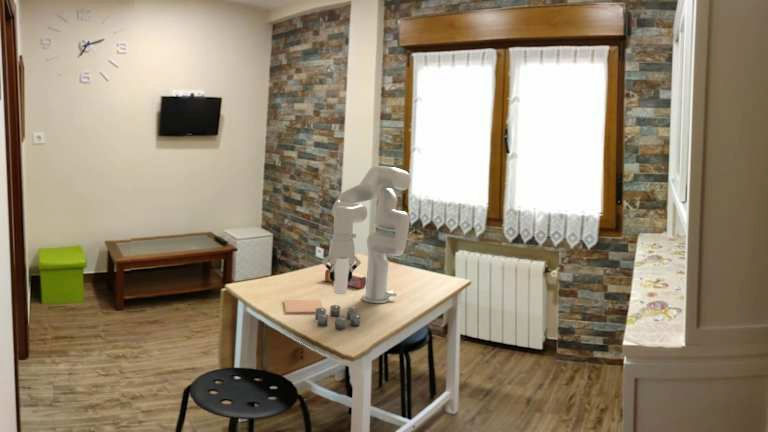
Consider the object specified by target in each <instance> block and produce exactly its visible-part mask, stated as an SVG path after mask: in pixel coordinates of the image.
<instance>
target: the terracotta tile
mask: <svg viewBox="0 0 768 432" xmlns="http://www.w3.org/2000/svg"><path fill="white" fill-rule="evenodd" d="M321 301H322V300H321V299H283V305H284V311H285V314H286V315H316V309H317V308H324V307H323V303H322V302H321Z"/></svg>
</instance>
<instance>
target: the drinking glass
mask: <svg viewBox="0 0 768 432" xmlns="http://www.w3.org/2000/svg"><path fill="white" fill-rule="evenodd" d="M349 268H350V265H349V258H345V259H341V258H337V260H336V264H335V265H334V283H333V293H334V294H337V295H344V294H347V292H348V286H347V284H348V277H349V270H350V269H349Z"/></svg>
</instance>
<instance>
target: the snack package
mask: <svg viewBox="0 0 768 432" xmlns="http://www.w3.org/2000/svg"><path fill="white" fill-rule="evenodd" d="M324 280H325V281H326V282H328V283H329V282H331V283H333V284H334V281H333V282H332V281H331V279H330V271H329V270H328V269H327V268H326V270H325V273H324ZM366 280H367V276H366V275H364V274H359V273H354V272H352V279H351V280H350V282H349V281H348V284H347V287H351V288H356V289H359V290H362V289H364V288H366Z"/></svg>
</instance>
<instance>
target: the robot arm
mask: <svg viewBox="0 0 768 432" xmlns="http://www.w3.org/2000/svg"><path fill="white" fill-rule="evenodd" d="M411 182H412V181H411V175H410V173H409V172H408V171H406V170H403V169H400V168H397V167H393V166H385V165H374V166H372V167H370V168H369V170H368V172H366V174H365V176H363V178H362V180H361V181H360V183H359V184H358V185H355V186H353V187H350V188H349V189H347V190H345V191H343V192H342V193H340V195H338V197H337V199H336V200H335V202H334V204H333V206H332V209H331V214H332V217H333V231H332V232H333V234H332V235H333V236H332V238H331V240H330V243H329V249H328V250H329V251H328V255H327V256H326V257H325V258H324V259H323V260H322V261H321V263H322V265H323V266H325V268H326V270H327V269H328V270H329V271H330V279H331V281H332V282H331V283H333V281H334V265H335V264H336V260H337V258H341V259H345V258H349V265H350V268H349V269H350V270H349V277H348V281H349V282H350V280H351V279H352V273H354V270H356V269H357V268H358V267H359V266H360V265H361V264H362V262H361V260H360V259H359V258H357V256H356V253H355V250H356V249H355V241H354V239H356V237H357V234H356V233H353V231H354V230H353V229H354V223H355V224H356V223H363V222H364V221H365V220H366V219H367V217H368V208H367V207H366V206H365V205H363V204H362V203H364V202H367V201H371V200H373V199H375V198H376V196H377V195H378V200H377V206H376V211H375V216H374V225H375V227H376V228H377V229H381V230H384V231H385V230H386V231H392V232H395V233H389V232H384V231H372V232H370V233H369V235H368V236H367V238H366V246H367V267H366V268H367V269H366V270H367V271H366V285H365V293H364V294H363V295H362V296H361V299H362V300H363V301H364V302H365V303H371V304H385V303H388V302H389V301H390V297H391V298H392V297H395V298H396V297H397V295H398V293H397V292H395V291H394V292H393V290H390V291H388V274H389V260H388V257H387V256H386V255H388V256H394V257H400V256H401V255H403V253H404V251H405V248H406V244H407V238H408V233H409V230H410V229H409V227H410V215H409V214H408V212H406V211H403V210H397V205H398V204H397V203H398V197H397V195H396V193H395V191H394V190H397V191H398V190H399V191H406V190H407V189H408V188H410V185H411ZM360 203H361V204H360ZM328 262H329V263H328Z"/></svg>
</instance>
